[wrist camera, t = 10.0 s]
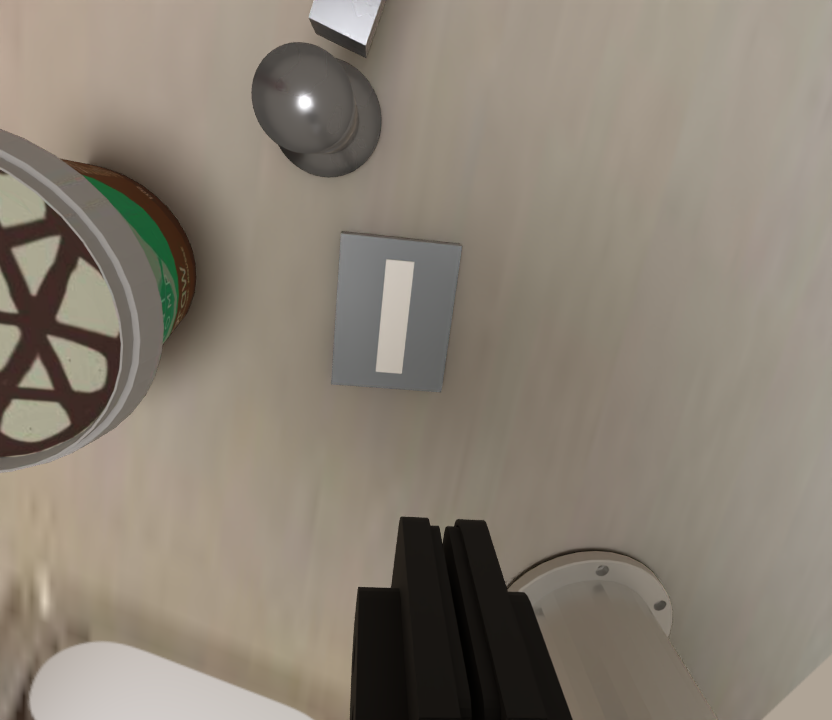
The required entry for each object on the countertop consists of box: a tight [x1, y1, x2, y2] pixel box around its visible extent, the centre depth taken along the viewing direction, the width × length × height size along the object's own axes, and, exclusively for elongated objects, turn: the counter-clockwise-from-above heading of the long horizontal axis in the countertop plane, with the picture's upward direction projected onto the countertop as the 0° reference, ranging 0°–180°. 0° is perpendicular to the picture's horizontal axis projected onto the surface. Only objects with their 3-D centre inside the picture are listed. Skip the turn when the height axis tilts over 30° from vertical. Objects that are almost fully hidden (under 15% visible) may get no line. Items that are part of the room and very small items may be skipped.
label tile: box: [331, 231, 462, 392], centre depth 28 cm, size 8×6×1 cm
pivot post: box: [252, 42, 381, 177], centre depth 20 cm, size 5×5×10 cm
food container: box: [0, 129, 196, 473], centre depth 22 cm, size 12×6×10 cm, turn 171°
